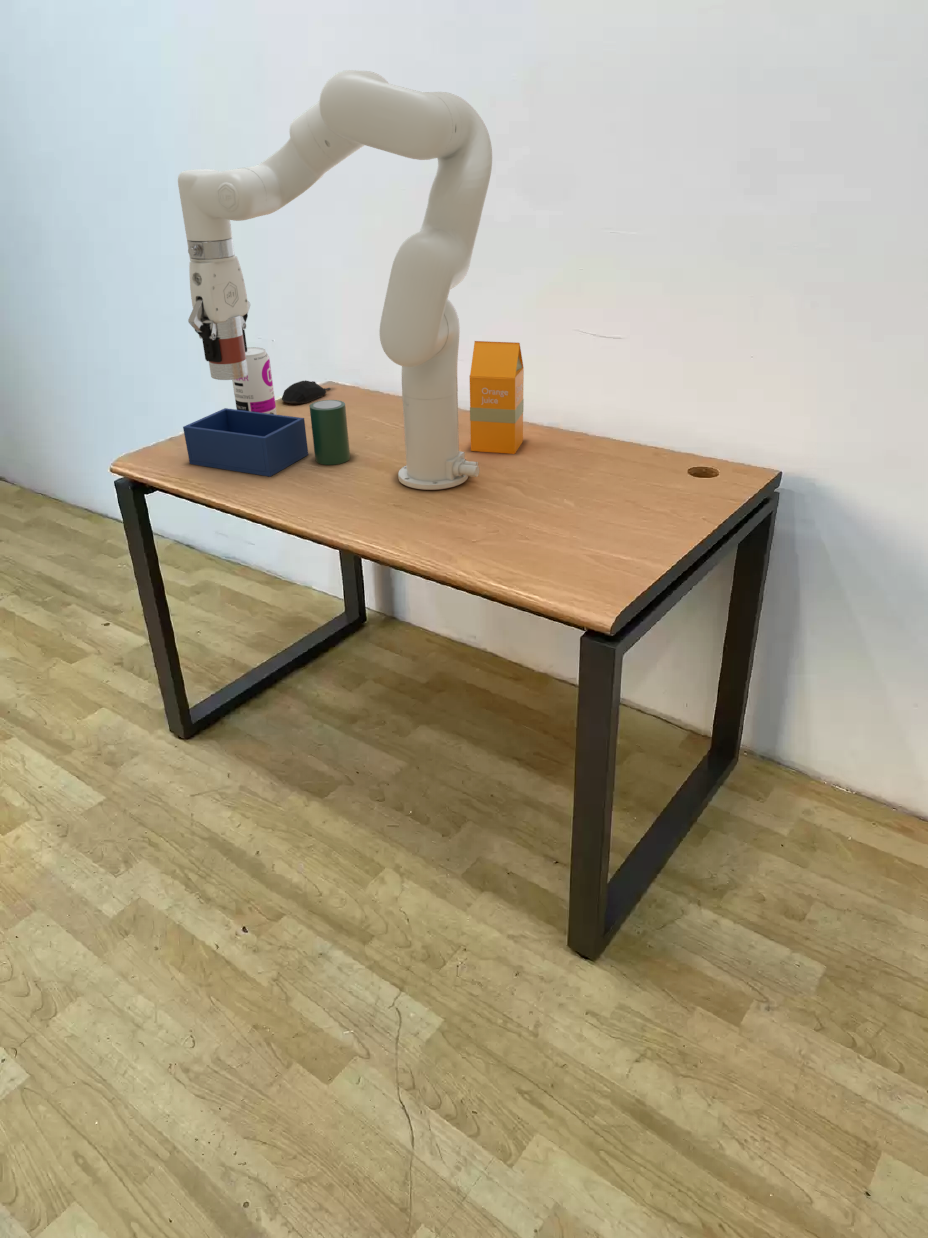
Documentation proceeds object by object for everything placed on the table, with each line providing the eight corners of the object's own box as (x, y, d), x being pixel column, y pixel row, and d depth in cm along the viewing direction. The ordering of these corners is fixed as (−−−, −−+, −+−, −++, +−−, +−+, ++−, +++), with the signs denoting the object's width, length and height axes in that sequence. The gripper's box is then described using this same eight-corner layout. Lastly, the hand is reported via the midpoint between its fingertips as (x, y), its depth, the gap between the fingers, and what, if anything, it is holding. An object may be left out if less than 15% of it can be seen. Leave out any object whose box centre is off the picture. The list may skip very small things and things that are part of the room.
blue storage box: (308, 454, 174) (304, 417, 171) (270, 476, 165) (265, 438, 161) (230, 443, 181) (225, 407, 178) (189, 463, 171) (182, 426, 168)
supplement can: (281, 416, 196) (273, 346, 189) (271, 428, 189) (261, 356, 182) (245, 416, 197) (235, 346, 190) (233, 428, 190) (222, 356, 183)
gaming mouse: (340, 391, 213) (338, 374, 211) (296, 407, 202) (294, 389, 200) (320, 387, 216) (318, 370, 214) (276, 403, 205) (274, 385, 203)
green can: (356, 455, 173) (351, 401, 168) (338, 466, 168) (333, 411, 163) (327, 451, 176) (321, 397, 171) (308, 462, 171) (302, 407, 165)
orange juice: (515, 454, 172) (515, 347, 162) (470, 451, 174) (468, 345, 164) (523, 440, 178) (524, 337, 168) (480, 438, 181) (478, 336, 171)
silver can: (255, 372, 165) (247, 312, 160) (233, 381, 160) (224, 320, 155) (226, 369, 168) (217, 310, 162) (203, 377, 162) (193, 317, 157)
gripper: (196, 258, 145) (213, 370, 154) (259, 244, 159) (272, 347, 168) (159, 256, 148) (178, 366, 157) (225, 242, 161) (239, 344, 170)
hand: (226, 355), depth 162 cm, fingers closed on silver can, 6 cm apart
